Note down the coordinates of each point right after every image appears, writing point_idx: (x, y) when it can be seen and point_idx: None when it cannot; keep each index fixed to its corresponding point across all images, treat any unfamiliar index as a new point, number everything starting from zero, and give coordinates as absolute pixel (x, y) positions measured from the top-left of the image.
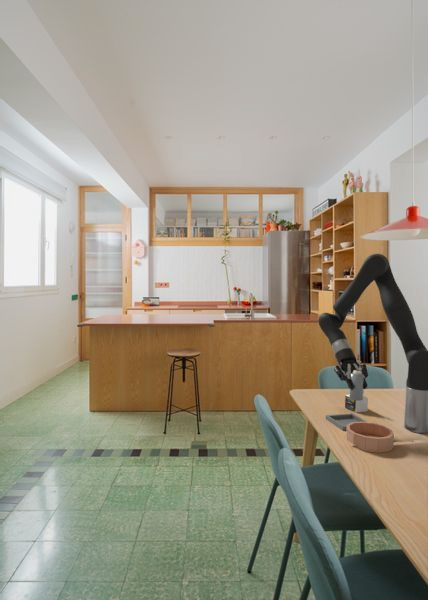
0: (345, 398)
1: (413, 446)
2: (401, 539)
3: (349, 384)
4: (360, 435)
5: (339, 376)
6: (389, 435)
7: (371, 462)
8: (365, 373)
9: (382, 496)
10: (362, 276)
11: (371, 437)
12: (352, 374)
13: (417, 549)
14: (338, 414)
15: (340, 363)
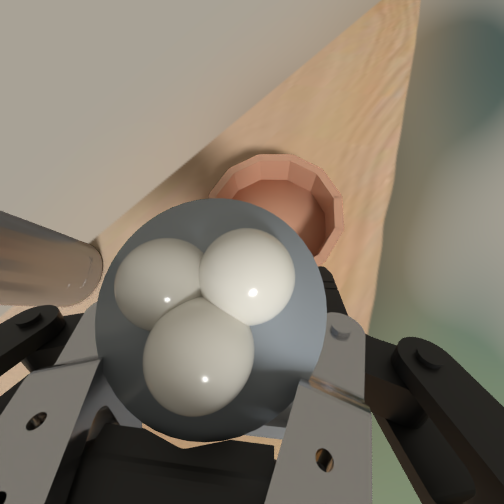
0: None
1: (180, 187)
2: None
3: (334, 284)
4: (329, 181)
5: (460, 462)
6: (245, 165)
7: (334, 145)
8: (2, 349)
9: (388, 56)
10: None
11: (306, 164)
12: (319, 282)
13: None
14: (248, 434)
15: None
